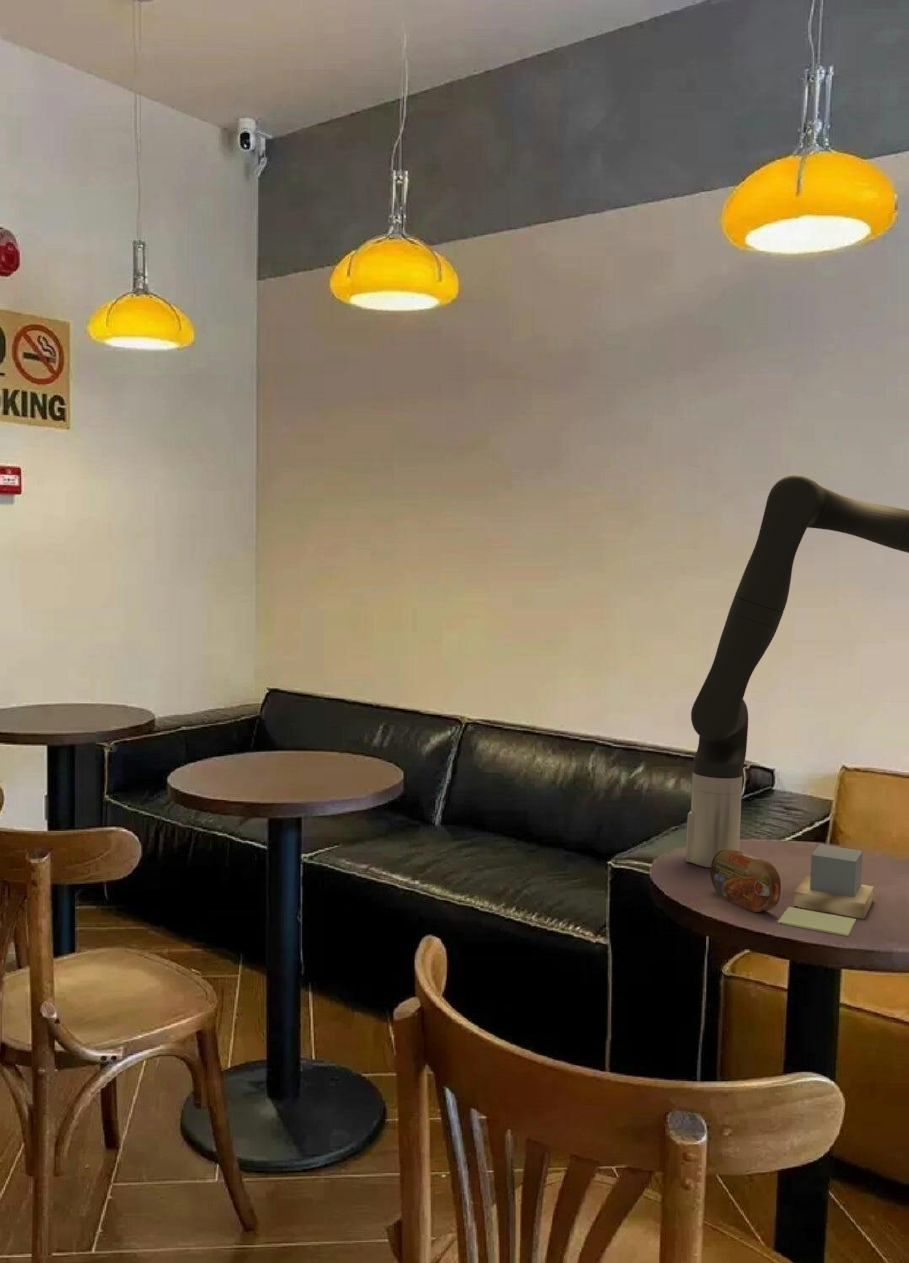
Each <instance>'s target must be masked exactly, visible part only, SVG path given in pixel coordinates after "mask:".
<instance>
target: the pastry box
mask: <svg viewBox="0 0 909 1263" xmlns="http://www.w3.org/2000/svg"><path fill="white" fill-rule="evenodd" d="M863 852H864V851H863V850H859V849H853V848H845V847H839V846H833V845H825V844H819V845H818V846H817V848H815V850H814V851H813V853H812V854H811V859H810V861H811V862H810V876H811V877H810V890H813V891H819V892H825V893H831V894H837V895H842V896H848V897H855V895H856V893H857V892H858V890H859V888H860V886H861V885H862V874H863V871H862V870H863V857H864V856H863V854H864V853H863Z"/></svg>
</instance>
